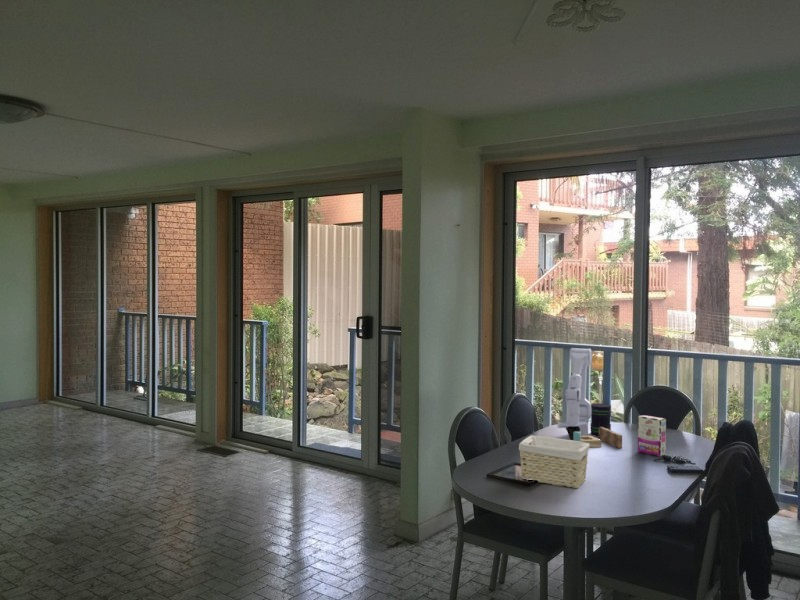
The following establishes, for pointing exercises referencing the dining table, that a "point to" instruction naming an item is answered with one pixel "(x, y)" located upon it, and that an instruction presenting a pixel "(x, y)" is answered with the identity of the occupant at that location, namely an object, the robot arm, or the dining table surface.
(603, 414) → the storage jar
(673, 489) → the dining table surface
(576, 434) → the dowel
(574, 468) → the storage basket
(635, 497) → the dining table surface
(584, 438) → the light wooden square frame
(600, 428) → the backstop wall
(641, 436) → the candy bar box
